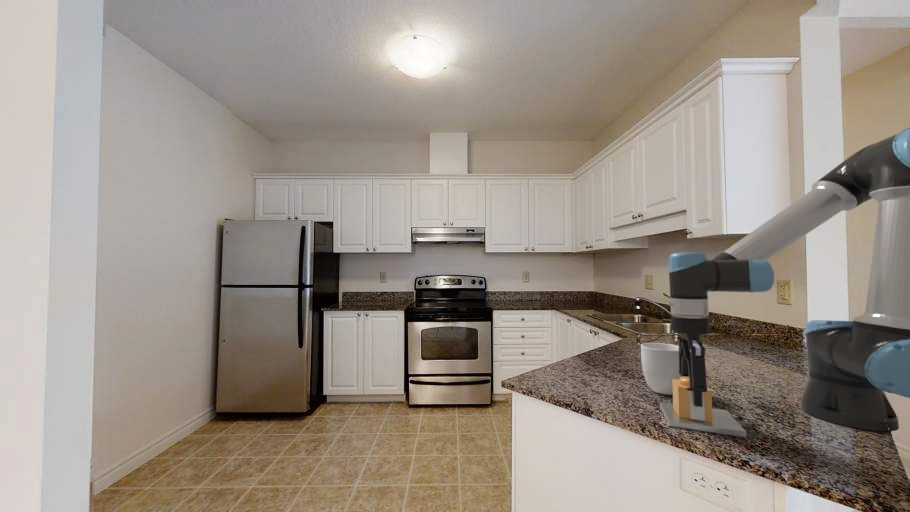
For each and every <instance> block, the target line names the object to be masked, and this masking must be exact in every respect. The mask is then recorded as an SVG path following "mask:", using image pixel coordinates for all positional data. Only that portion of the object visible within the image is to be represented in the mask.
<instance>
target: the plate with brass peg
mask: <svg viewBox="0 0 910 512" xmlns="http://www.w3.org/2000/svg"><path fill="white" fill-rule="evenodd" d="M659 408H660V409H661V411H662V414H663V415H664V418H665V420H666V422H667V424H668V425H669V427H673V428H679V429H686V430H693V431H700V432H706V433H713V434H718V435H719V434H720V435H728V436H735V437H741V438H747V437H748V436H747V435H748V434H747V431H746V430H745V429H744V428H743V426H742V425H741V424H740V423H739V422H738V421H737V420H736V419H735V418H734V417H733V416H732V414H730V412H728V411H727V410H726V409H720V408H714V407H712V421H713V422H708V421H701V420H694V419H687V418H680V417H679V416H678V415H677V413H676V411H675V409H674V408H673V402H663V401H659Z"/></svg>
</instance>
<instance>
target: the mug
mask: <svg viewBox="0 0 910 512" xmlns="http://www.w3.org/2000/svg"><path fill="white" fill-rule="evenodd" d="M640 353H641V354H640V357H641V361H640V362H641V367H642V372H643V373H642V374H643V376H644V379H645V382H646V385H647V386H648V388H649V389H650V390H651V391H652V392H654V393H657V394H660V395H666V396H667V395H668V396H673V385H672V379H679V380H680V377H681V375H680V374H679V345H676V344H672V343H663V342H661V343H660V342H643V343H641V345H640Z"/></svg>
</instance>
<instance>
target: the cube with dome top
mask: <svg viewBox="0 0 910 512" xmlns="http://www.w3.org/2000/svg"><path fill="white" fill-rule="evenodd" d="M672 385H673V395H672V403H673V408H674V409H675V411H676V413H677V415H678V416H679V417H680V418H687V419H690V406H689V391H687V388H690V381H689V377H686V376H683V377H680V380H679V379H672ZM698 386H699V385H698ZM712 398H713V397H712V389H710V388H709V387H708V386H707V392H704V407H705V421H708V422H713V421H712V408H713V399H712Z"/></svg>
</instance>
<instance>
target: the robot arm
mask: <svg viewBox="0 0 910 512" xmlns="http://www.w3.org/2000/svg"><path fill="white" fill-rule="evenodd" d="M871 199H873V200H874V201H876V202H877V203H878V206H877V207H878V208H877V210H878V211H877V215H876V216H877V217H876V225H875V231H874V240H873V248H872V249H873V250H872V257H871V264H870V273H869V279H868V281H869V282H868V288H867V295H866V296H867V297H866V305H865V309H864V310H865V312H864V313H862V314H861V315H860V316H857V317H855V318H853V320H822V319H821V320H818V319H817V320H816V319H814V320H809V321H808V322H807V323H806V326H805V337H806V338H805V339H806V351H807V364H808V367H807V368H808V381H807V383H806V385H805V387H804V391H803V393H802V394H801V398H800V408H801V410H802V411H803V412H805V413H806V414H809V415H811V416H813V417H815V418H818V419H820V420H823V421H827V422H828V423H829V422H830V423H832V424H833V423H834V424H838V425H841V426H845V427H850V428H855V429H859V430H860V429H861V430H868V431H876V432H895V431H898V430H899V429H900V424H899V418H898V416H897V414H896V412H895V410H894V407H893V406H892V404H891V402H890V401H889V399H888V396H887V395H886V393H888V394H893V395H897V396H902V397H904V398H908V399H910V127H907V128H905V129H903V130H901V131H899V132H898V133H896V134H894V135H892V136H888V137H887V138H886V137H885V139H882V140H880V141H877V142H874V143H872V144H869V145H868V146H865V147H863V148H861V149H860V150H858V151H856V152H854V153H853V154H852V155H850V156H849V157H847V158H846V159H845V160H843V161H842V162H841V163H840V164H838V165H836V167H834V168H833V169H831V170H830V171H829V172H827V173H826V174H825V175H824V176H822V177H821V178H820V179H818V180H817V181H815V182H814V183H813V184H812V185H811V190H810V191H809V192H807V193H805V195H803V196H802V197H800V198H798V199H797V200H796V201H794V202H793V203H791V204H790V205H788V206H787V207H786V208H783V210H781V211H779V212H778V213H777V214H776V215H774V216H773V217H771V218H769V220H767V221H766V222H764V223H763V224H761V225H760V226H758V227H757V228H755V229H754V230H753V231H751V232H750V233H748V234H747V235H745V236H744V237H743V238H741V239H740V240H738V241H736V242H735V243H734V244H733V245H731V246H730V247H729V248H727V249H725V250H724V251H722V252H721V253H720V254H718V255H716V256H715V257H714V258H712V259H708V258H707V255H706V252H703V251H690V252H688V251H687V252H685V251H684V252H674V253H672V254H670V255H669V257H668V271H667V273H668V278H669V298H670V301H667V305H668V306H670V313H671V314H672V315H671V317H670V329H671V331H672V332H674V333H678V334H680V335H677V343H678V345H677V346H679V374H680V375H681V377H683V376H686V377H689V381H690V388H687V391H689V406H690V419H694V420H701V421H705V407H704V392H707V387H708V386H707V373H706V372H707V371H706V358H705V357H706V348H705V346H703V343H702V341H700V336H701V335H708V334H709V333H710V320H709V319H708V317H707V316H709V314H710V312H709V296H708V292H710V293H711V292H712V293H713V292H722V293H723V292H726V293H727V292H728V293H730V292H731V293H752V294H754V293H765V292H768V291H770V290H771V289H772V287H773V285H774V282H775V272H774V268H773V266H772V265H771V263H770V262H769V260H770V259H771V258H773V257H774V256H775V255H778V253H780V252H782V251H784V250H785V249H786V248H788V247H789V246H791V245H793V244H794V243H796V242H797V241H798V240H800V239H802V238H803V237H805V236H806V235H807V234H809V233H811V232H812V231H814V230H815V229H816V228H818V227H820V226H821V225H823V224H824V223H826V222H827V221H829V220H830V219H832V218H833V217H835V216H836V215H838V214H839V213H841V212H842V211H845V212H847V211H852V210H854V209H855V208H857V207H858V206H860V205H862V204H863V203H864V204H865V202H868V201H870V200H871ZM698 385H699V386H698ZM885 420H886V421H885ZM887 425H888V426H887ZM888 428H889V430H890V431H889V430H888Z"/></svg>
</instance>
